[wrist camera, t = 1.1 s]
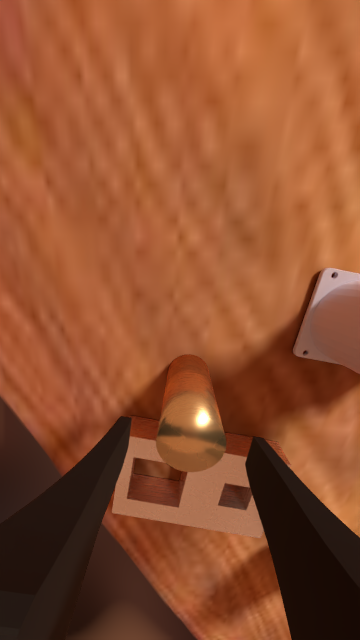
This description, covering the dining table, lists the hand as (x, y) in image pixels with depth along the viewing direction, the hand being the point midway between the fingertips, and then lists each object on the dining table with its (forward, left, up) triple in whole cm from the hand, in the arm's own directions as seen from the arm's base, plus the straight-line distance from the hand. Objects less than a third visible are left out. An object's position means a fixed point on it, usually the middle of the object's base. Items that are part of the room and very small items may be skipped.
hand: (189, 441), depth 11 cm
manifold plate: (-3, +11, -8) cm, 14 cm away
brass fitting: (0, 0, -8) cm, 8 cm away
